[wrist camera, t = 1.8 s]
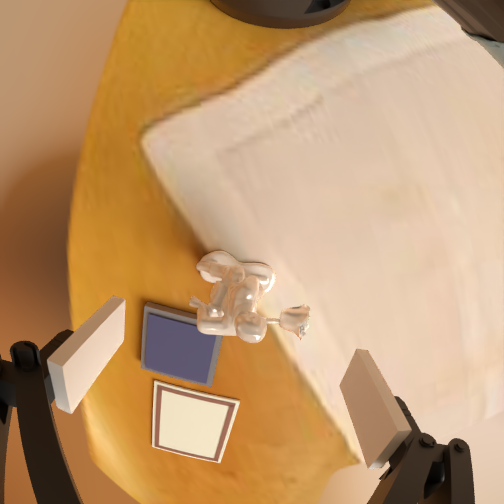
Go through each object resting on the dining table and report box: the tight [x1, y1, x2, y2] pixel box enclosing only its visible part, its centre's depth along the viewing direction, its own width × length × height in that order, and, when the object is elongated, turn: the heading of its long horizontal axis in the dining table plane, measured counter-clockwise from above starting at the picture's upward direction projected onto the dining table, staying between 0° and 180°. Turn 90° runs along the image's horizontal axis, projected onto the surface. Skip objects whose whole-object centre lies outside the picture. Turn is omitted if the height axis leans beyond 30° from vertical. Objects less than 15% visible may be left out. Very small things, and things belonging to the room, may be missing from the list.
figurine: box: [189, 250, 310, 343], centre depth 21 cm, size 5×9×12 cm, turn 86°
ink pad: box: [141, 302, 223, 387], centre depth 29 cm, size 8×8×1 cm
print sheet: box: [152, 380, 240, 463], centre depth 33 cm, size 14×10×1 cm
